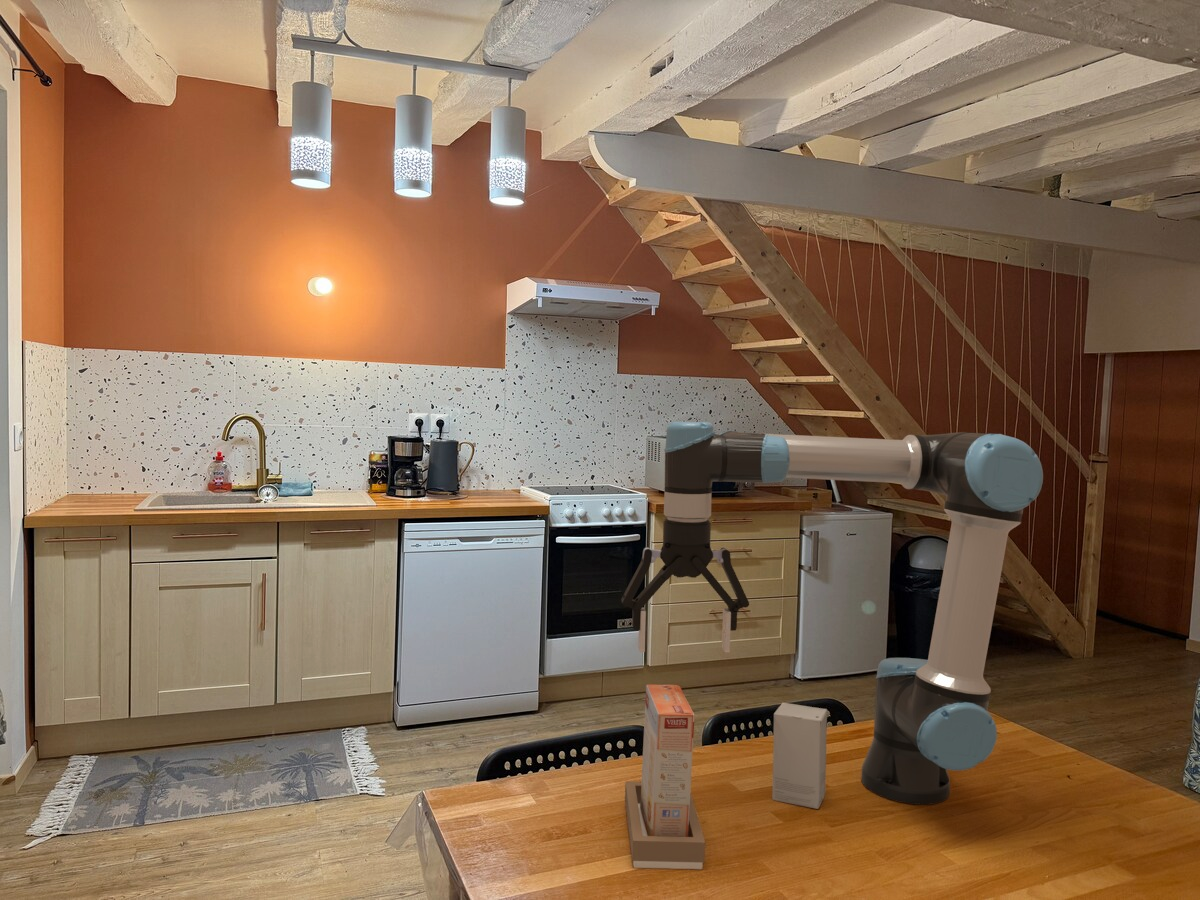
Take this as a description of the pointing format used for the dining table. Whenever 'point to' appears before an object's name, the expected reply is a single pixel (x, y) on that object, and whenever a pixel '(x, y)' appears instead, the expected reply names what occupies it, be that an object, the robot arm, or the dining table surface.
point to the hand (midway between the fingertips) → (683, 650)
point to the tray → (662, 838)
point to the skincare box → (799, 755)
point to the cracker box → (666, 761)
